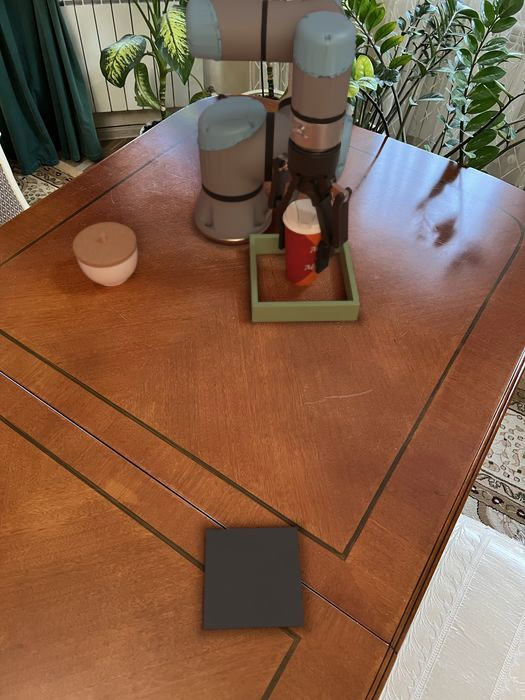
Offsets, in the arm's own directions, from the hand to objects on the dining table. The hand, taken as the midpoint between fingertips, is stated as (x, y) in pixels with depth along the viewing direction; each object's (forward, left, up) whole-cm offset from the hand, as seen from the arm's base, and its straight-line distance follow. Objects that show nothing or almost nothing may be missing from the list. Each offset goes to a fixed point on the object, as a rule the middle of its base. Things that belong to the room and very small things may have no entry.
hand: (303, 256), depth 99 cm
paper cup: (0, 0, -4) cm, 4 cm away
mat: (+51, -10, -6) cm, 53 cm away
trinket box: (-3, -34, -6) cm, 35 cm away
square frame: (0, 0, -6) cm, 6 cm away
